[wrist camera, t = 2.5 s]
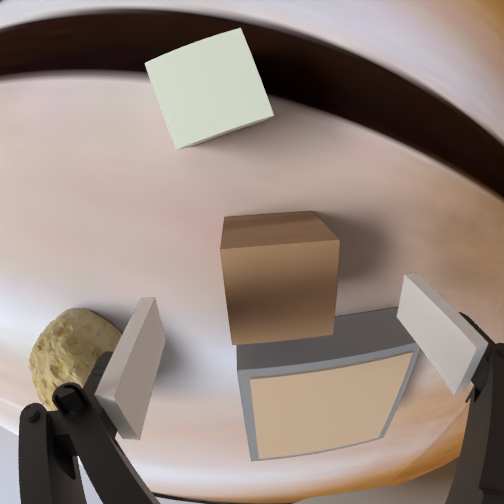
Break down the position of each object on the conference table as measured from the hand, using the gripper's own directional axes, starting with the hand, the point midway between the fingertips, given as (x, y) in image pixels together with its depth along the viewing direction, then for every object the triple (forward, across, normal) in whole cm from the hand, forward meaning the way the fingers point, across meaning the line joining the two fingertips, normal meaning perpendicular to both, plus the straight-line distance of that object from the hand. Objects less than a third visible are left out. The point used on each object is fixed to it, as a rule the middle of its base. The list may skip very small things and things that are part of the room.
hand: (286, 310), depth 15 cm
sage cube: (+7, -3, +11) cm, 14 cm away
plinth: (+7, +4, -13) cm, 15 cm away
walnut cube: (+7, 0, 0) cm, 7 cm away
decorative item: (+7, -17, -8) cm, 20 cm away
